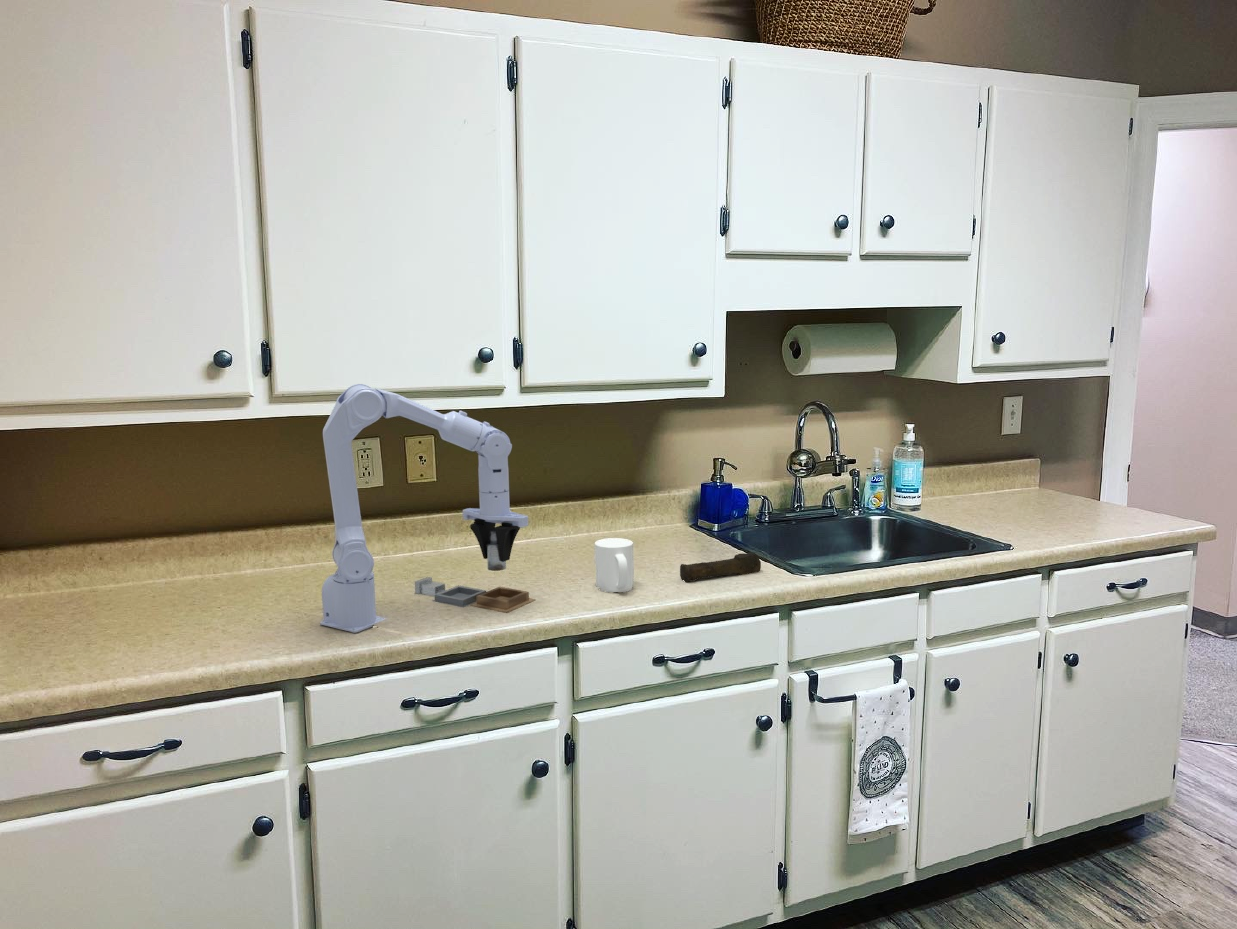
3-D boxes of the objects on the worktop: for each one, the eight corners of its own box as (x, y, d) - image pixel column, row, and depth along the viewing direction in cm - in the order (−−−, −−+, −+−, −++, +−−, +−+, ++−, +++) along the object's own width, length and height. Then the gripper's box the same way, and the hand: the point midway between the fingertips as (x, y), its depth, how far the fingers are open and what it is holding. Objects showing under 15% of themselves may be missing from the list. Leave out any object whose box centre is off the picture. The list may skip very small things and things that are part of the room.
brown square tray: (470, 608, 185) (469, 596, 185) (499, 596, 193) (498, 584, 192) (507, 616, 181) (506, 603, 180) (535, 603, 188) (535, 591, 188)
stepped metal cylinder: (483, 569, 186) (482, 531, 184) (495, 564, 188) (494, 527, 187) (497, 571, 184) (496, 533, 182) (509, 567, 187) (508, 529, 185)
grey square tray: (431, 603, 188) (431, 594, 188) (458, 593, 195) (458, 584, 195) (463, 610, 184) (462, 601, 184) (489, 599, 191) (489, 590, 191)
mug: (589, 538, 201) (625, 535, 203) (589, 581, 202) (626, 578, 205) (604, 552, 189) (643, 549, 192) (605, 598, 191) (643, 594, 193)
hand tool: (686, 585, 200) (686, 563, 199) (678, 579, 204) (678, 558, 203) (766, 576, 207) (767, 555, 206) (757, 570, 210) (758, 550, 210)
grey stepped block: (415, 595, 193) (414, 581, 193) (428, 590, 197) (427, 576, 196) (434, 599, 191) (433, 585, 190) (446, 594, 194) (446, 580, 194)
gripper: (537, 490, 183) (539, 558, 185) (477, 483, 190) (480, 549, 193) (514, 496, 177) (517, 567, 179) (454, 489, 184) (457, 557, 187)
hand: (496, 559), depth 186 cm, fingers closed on stepped metal cylinder, 4 cm apart
